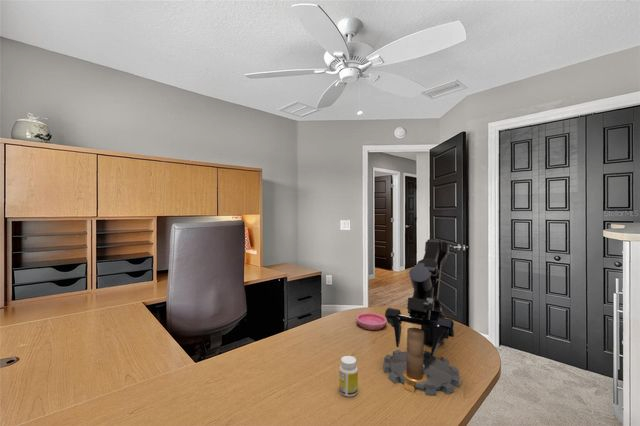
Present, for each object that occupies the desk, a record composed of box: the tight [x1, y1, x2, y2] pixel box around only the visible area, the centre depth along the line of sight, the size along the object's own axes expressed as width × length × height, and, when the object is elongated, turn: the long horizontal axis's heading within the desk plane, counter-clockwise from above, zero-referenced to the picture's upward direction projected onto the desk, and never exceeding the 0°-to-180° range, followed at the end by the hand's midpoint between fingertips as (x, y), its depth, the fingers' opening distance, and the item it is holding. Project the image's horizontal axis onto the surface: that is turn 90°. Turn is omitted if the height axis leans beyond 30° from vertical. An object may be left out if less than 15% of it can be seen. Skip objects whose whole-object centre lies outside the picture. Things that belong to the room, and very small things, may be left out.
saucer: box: [355, 312, 388, 331], centre depth 118 cm, size 12×12×3 cm
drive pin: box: [406, 327, 425, 380], centre depth 79 cm, size 4×4×12 cm
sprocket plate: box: [382, 349, 461, 396], centre depth 84 cm, size 21×21×2 cm
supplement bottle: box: [338, 355, 359, 398], centre depth 75 cm, size 5×5×8 cm
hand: (414, 350), depth 78 cm, fingers open, 9 cm apart
